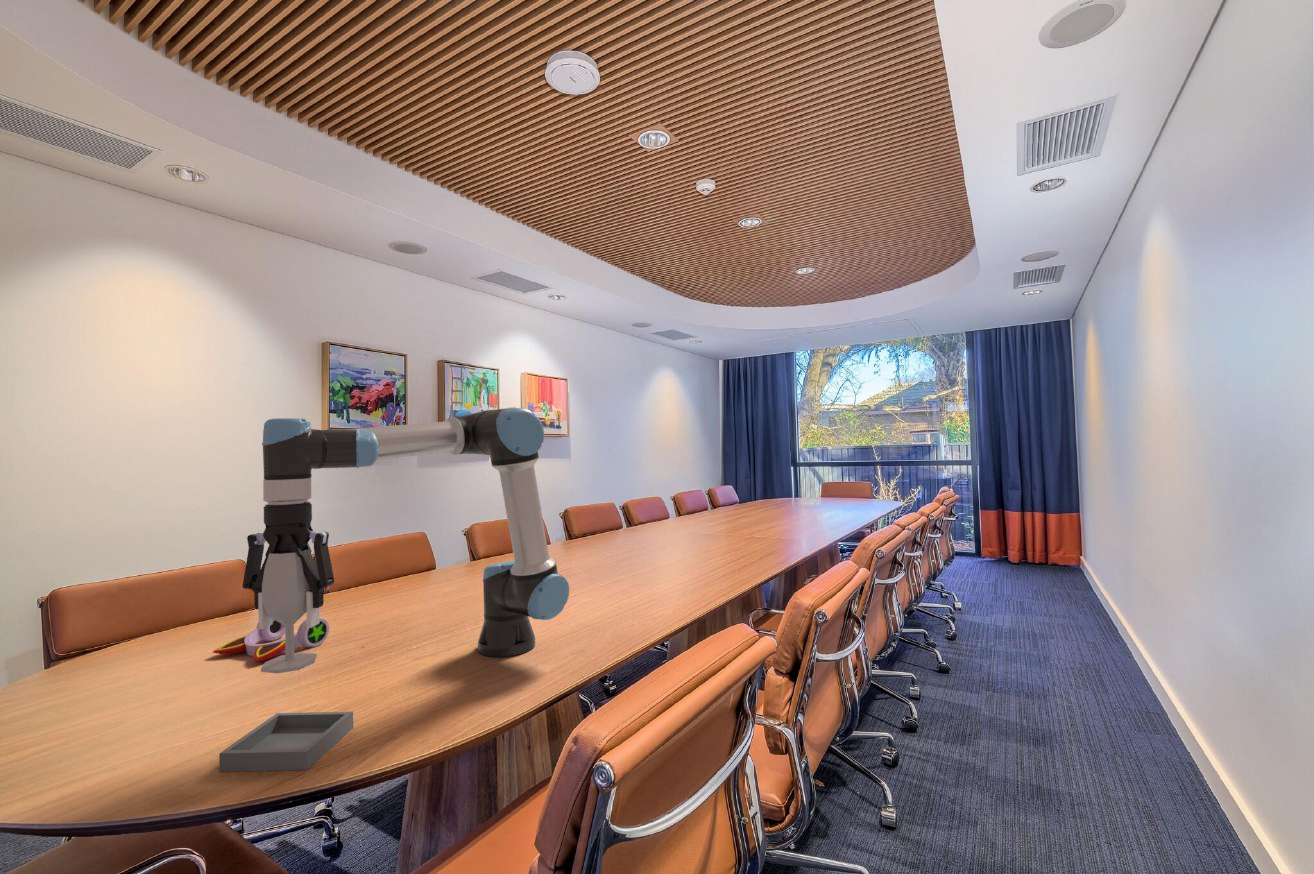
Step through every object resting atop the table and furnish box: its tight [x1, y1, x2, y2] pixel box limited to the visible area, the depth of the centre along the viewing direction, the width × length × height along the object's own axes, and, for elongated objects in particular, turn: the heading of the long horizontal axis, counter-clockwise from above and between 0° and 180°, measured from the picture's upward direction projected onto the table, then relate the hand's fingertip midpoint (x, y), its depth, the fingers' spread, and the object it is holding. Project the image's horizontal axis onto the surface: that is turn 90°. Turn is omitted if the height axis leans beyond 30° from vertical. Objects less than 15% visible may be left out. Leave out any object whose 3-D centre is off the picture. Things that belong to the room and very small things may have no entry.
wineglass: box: [260, 552, 318, 674], centre depth 108 cm, size 9×9×21 cm
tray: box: [218, 711, 354, 772], centre depth 107 cm, size 15×15×3 cm
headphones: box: [212, 615, 330, 662], centre depth 162 cm, size 20×10×20 cm
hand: (289, 625), depth 108 cm, fingers closed on wineglass, 8 cm apart
